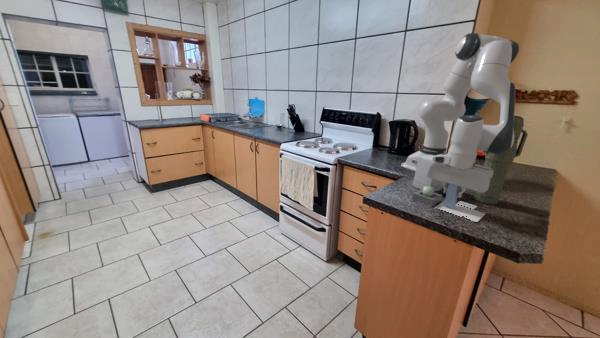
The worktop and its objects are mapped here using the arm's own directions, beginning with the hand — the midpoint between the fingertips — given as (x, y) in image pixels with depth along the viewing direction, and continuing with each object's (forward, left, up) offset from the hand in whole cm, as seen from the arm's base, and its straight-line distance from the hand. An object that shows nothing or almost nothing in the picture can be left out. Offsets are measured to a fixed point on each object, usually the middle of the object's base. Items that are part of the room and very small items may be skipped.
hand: (452, 195), depth 93 cm
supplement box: (-14, +13, -6) cm, 20 cm away
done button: (-8, -1, -3) cm, 9 cm away
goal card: (+4, +8, -5) cm, 10 cm away
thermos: (+7, +20, -6) cm, 22 cm away
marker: (0, 0, -5) cm, 5 cm away
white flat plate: (+4, 0, -5) cm, 7 cm away
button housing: (-8, -1, -5) cm, 10 cm away
